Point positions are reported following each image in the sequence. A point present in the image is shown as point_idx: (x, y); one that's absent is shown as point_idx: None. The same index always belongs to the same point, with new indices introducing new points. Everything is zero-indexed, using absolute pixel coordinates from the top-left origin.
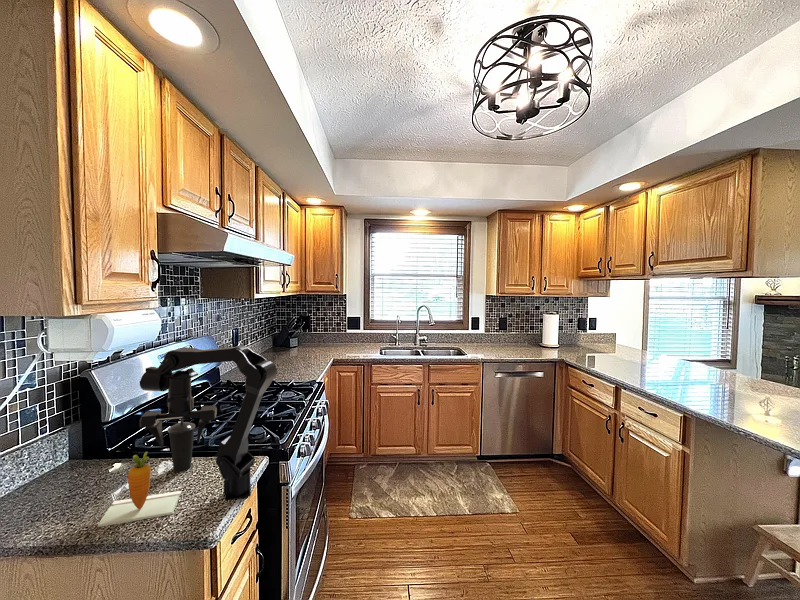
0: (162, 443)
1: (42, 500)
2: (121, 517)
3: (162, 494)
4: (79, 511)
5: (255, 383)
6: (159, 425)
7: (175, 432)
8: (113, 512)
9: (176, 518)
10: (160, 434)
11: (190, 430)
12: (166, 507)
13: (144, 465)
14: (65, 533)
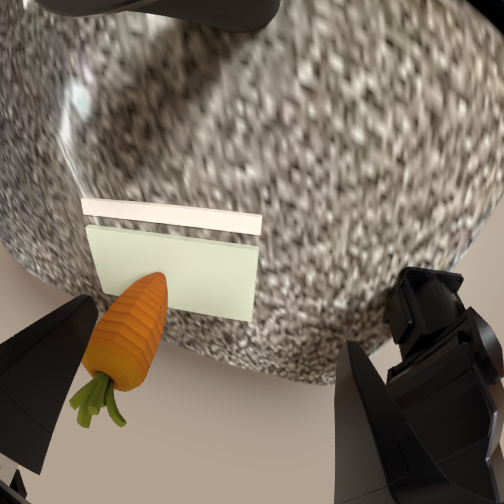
0: (85, 334)
1: None
2: None
3: (200, 215)
4: (39, 208)
5: None
6: (5, 442)
7: (80, 15)
8: (107, 260)
9: (263, 334)
10: (48, 399)
11: None
12: (231, 298)
13: (116, 381)
14: (66, 279)
